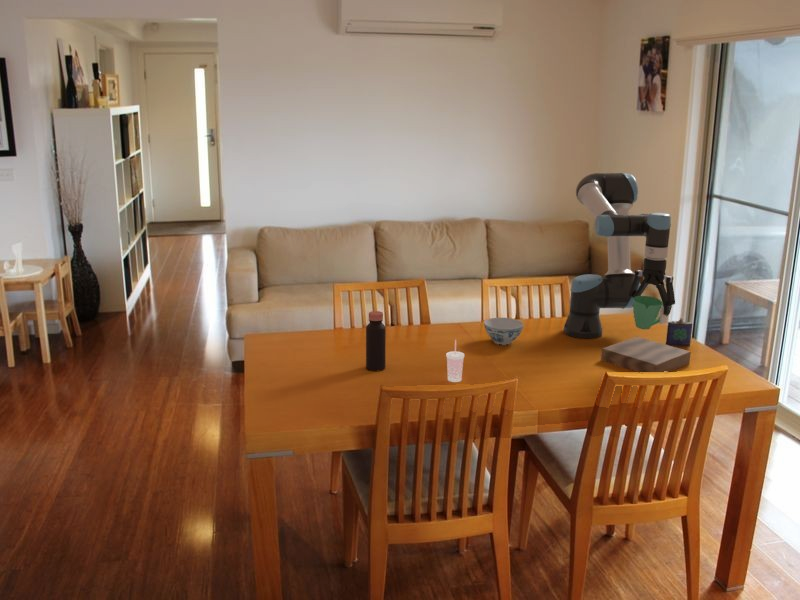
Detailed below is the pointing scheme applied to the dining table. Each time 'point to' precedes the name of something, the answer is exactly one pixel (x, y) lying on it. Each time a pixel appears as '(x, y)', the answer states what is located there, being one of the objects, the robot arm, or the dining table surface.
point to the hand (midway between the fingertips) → (649, 319)
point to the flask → (679, 333)
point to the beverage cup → (454, 365)
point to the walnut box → (645, 355)
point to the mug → (647, 311)
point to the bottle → (375, 342)
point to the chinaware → (503, 329)
